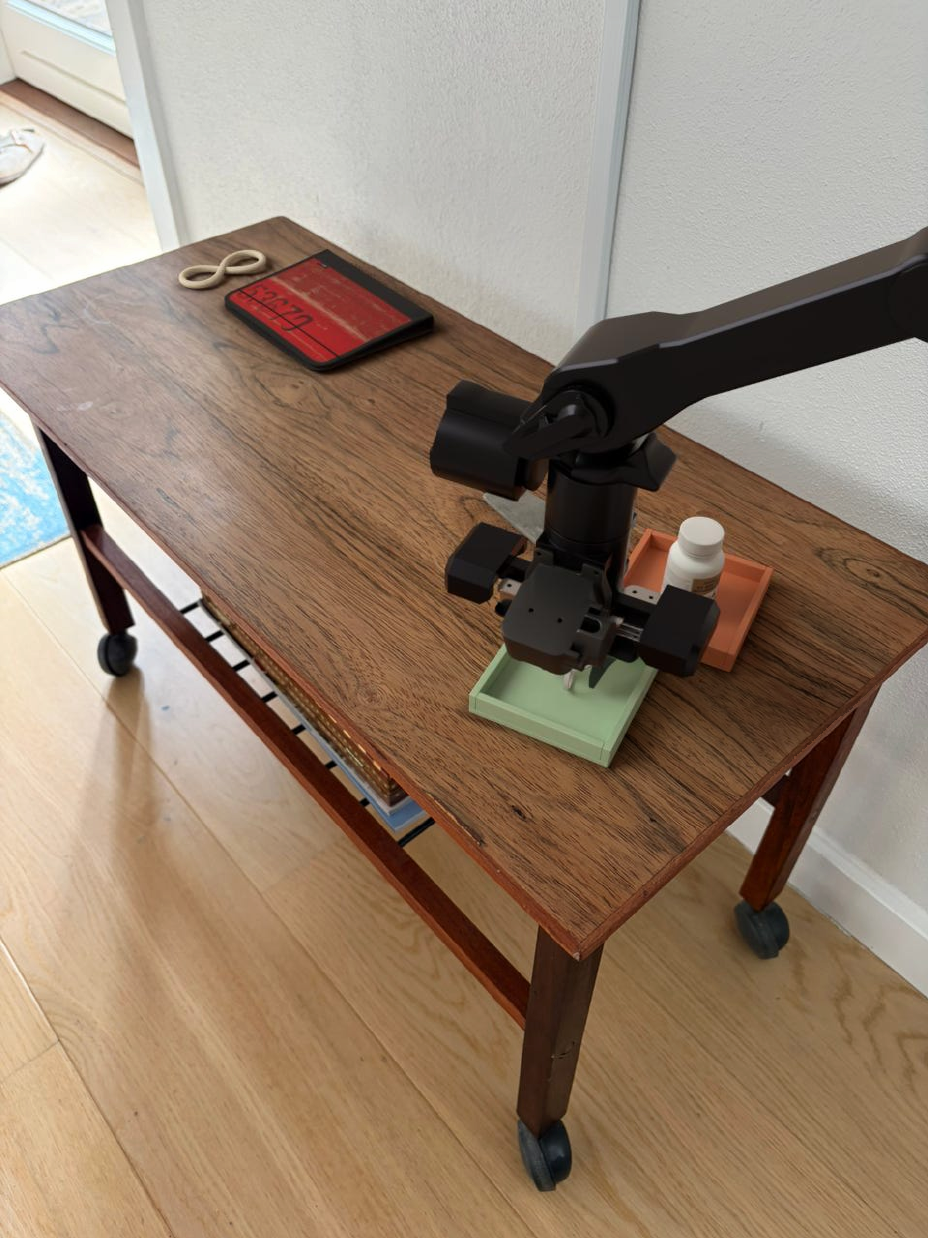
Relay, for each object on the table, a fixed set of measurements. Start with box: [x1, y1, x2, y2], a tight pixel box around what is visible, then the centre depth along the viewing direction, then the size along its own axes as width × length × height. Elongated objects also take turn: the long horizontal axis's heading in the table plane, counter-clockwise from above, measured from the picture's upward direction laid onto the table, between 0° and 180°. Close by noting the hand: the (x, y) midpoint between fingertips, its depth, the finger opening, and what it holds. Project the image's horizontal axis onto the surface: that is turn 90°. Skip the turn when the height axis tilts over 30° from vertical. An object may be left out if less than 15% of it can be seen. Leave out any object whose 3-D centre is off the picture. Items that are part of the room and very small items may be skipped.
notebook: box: [223, 248, 436, 372], centre depth 117 cm, size 16×2×21 cm
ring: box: [563, 665, 592, 691], centre depth 77 cm, size 3×3×3 cm
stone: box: [482, 490, 546, 546], centre depth 91 cm, size 12×2×5 cm
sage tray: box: [468, 642, 659, 769], centre depth 78 cm, size 11×11×2 cm
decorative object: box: [178, 249, 267, 290], centre depth 125 cm, size 11×1×5 cm
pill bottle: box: [661, 516, 726, 600], centre depth 82 cm, size 4×4×8 cm
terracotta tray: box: [622, 527, 775, 673], centre depth 84 cm, size 11×11×2 cm
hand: (569, 675), depth 77 cm, fingers closed on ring, 3 cm apart
